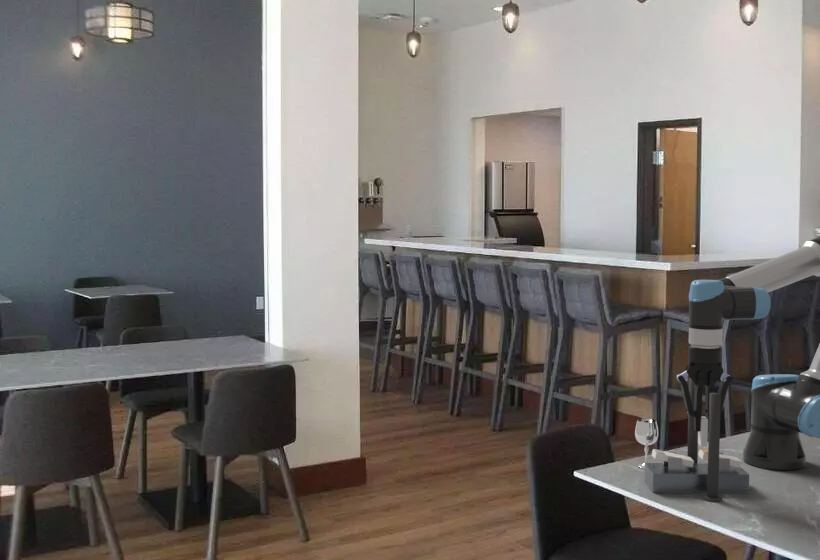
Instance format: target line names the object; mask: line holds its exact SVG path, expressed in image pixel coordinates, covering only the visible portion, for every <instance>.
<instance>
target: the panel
mask: <svg viewBox="0 0 820 560" xmlns="http://www.w3.org/2000/svg"><path fill="white" fill-rule="evenodd" d="M668 452H669V453H674V454H678V453H677V451H668ZM719 454H723V455H724V452H720V451H719ZM707 479H708V462H707V463H706V462H705V463H704V462H703V463H702V462H701V463H698V462H697V463H694V464H693V467H689V466H684V465H682V458H669V459H668V462H666V461H662V462H648V463H645V469H644V482H645V484H646V485H647V486H648V488H649V489H650V491H651V492H652V493H655V494H662V493H663V494H707ZM735 493H737V495H738V493H740V495H741V494H742V495H745V494H748V495H749V493H750V474H749V473H748V472H747V471H745V469H743V467H740V468H739V467H734V466H730V459H729V458H719V486H718V494H728V495H729V494H735ZM735 495H736V494H735Z"/></svg>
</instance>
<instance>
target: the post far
mask: <svg viewBox="0 0 820 560" xmlns="http://www.w3.org/2000/svg"><path fill="white" fill-rule="evenodd" d="M688 388H689V392H690V397H691V401H692V406H693V410H694V382H693V381H692V380H691V378H690V377H689V378H688ZM687 415H688V416H687V420H688V421H687V455H686V456H688V457H691V458H692V460H693V461H694V463H698V458H699V456H698V454H699V450H698V449H699V444H698V431H695V429H694V416H690V415H689V414H688V413H687Z"/></svg>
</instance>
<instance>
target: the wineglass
mask: <svg viewBox="0 0 820 560" xmlns="http://www.w3.org/2000/svg"><path fill="white" fill-rule="evenodd" d="M634 436H635V440H636V441H637V442H638V443H639V444H641V445H643V446H644V450H643V451H644V453H645V455H644V462H643V463H639V464H637V465H638V467H637V468H639V467H640V469H643V470H645V463H649V462H648V452H649V446H650V445H651V446H652V445H654V444H655V443H656V442H658V438H659V427H658V423H657V420H656V419H653V418H638V419H637V421H636V425H635V430H634Z"/></svg>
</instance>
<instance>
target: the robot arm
mask: <svg viewBox="0 0 820 560" xmlns="http://www.w3.org/2000/svg"><path fill="white" fill-rule="evenodd" d="M812 276H815V277H820V236H817V237H814V238H812V239H810V240H807V241H805V242H803V244H802V245H801V247H800V248H798V249H797V248H796V249H795V250H793V251H790V252H787V253H784V254H782V255H779V256H777V257H775V258H772V259H769V260H767V261H763V262H761V263H759V264H756V265H754V266H752V267H749V268H746V269H744V270H740V271H738V272H735V273H733V274H731V275H728V276H726V277H723V278H719V279H695V280H693V281H691V283H690V288H689V293H688V302H689V305H688V309H689V310H688V313H689V315H688V344H690V345H689V346H688V348H687V349H688V351H687V352H688V353H687V365H686V367H685V370H684V371H683V372H681V373H677V374H676V376H675V378H676V380H677V381H678V384H680V389H681V395H682V398H683V404H684V406H685V411H686V414H687V415H688V414H689V415H690V416H694V429H695V431H698V446H699V447H708V436H709V394H710V393H715V392H714V390H715V384H716V383H717V381H719V379H720V383H719V386H718V390H717V393H720V394H721V404H720V415H721V414H722V411H723V407H724V403H725V400H726V396H727V392H728V388H729V386H730V385H731V383H732V382H733V380H734V377H733V376H731V375H730V374H728V373H726V372H725V371H724V368H723V365H722V363H723V361H722V360H723V358H722V357H723V356H722V355H723V349H722V347H721V346H722V345H723V327H724V326H723V325H724V321H728V320H731V321H734V320H751V321H753V320H760V319H763V318H766V316H768V314H769V313H770V310H771V296H770V294H769V293H771V292H773V291H776V290H778V289H781V288H783V287H786V286H788V285H789V286H790V285H791V284H794V283H796V282H799V281H802V280H803V279H807V278H809V277H812ZM688 377H689V378H688ZM690 378H691V380H692V381H693V382H694V410H693V406H692V401H691V397H690V392H689V383H688V382H689V379H690ZM704 388H705V390H704ZM703 390H704V391H705V392H704V394H705V395H704V400H705V401H704V416H703V415H702V413H703ZM750 391H751V411H750V412H751V415H750V417H751V418H750V424H751V425H750V433H749V436H748V438H747V441H746V443H745V445H744V448H743V453H742V460H743V462H744V463H746V464H748V465H750V466H755V467H757V468H762V469H769V470H776V471H791V470H793V471H794V470H800V469H804V468H805V467H806V463H807V462H806V460H807V459H806V456H807V455H806V453H805V450H804V446H803V443H802V440H801V437H800V433H801V434H804V435H805V436H807V437H810V438H817V439H820V343H819V344H818V347H817V349H816V352H815V354H814V357H813V359H812V361H811V363H810V365H809V368H808V369H807V370H805V371H803V372H801V373H800V374H792V373H791V374H790V373H785V374H782V373H778V374H777V373H776V374H759V375H756V376H755V377H754V378H753V379H752V385H751V390H750Z"/></svg>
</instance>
